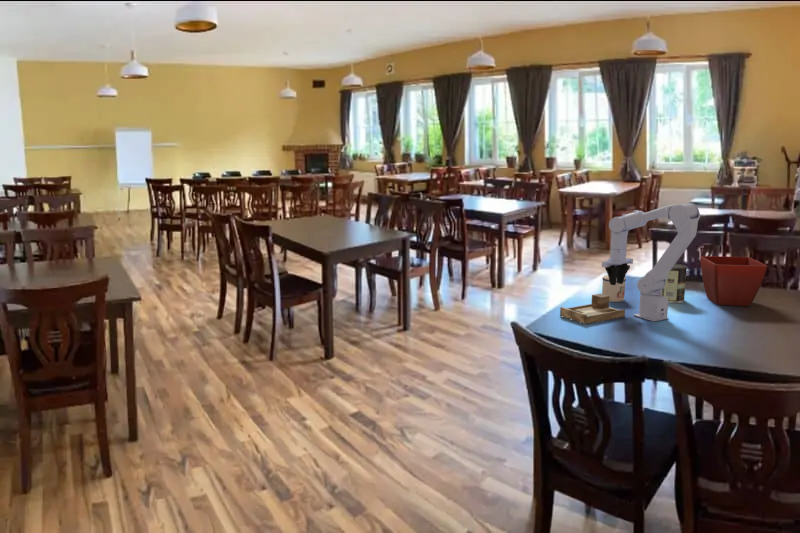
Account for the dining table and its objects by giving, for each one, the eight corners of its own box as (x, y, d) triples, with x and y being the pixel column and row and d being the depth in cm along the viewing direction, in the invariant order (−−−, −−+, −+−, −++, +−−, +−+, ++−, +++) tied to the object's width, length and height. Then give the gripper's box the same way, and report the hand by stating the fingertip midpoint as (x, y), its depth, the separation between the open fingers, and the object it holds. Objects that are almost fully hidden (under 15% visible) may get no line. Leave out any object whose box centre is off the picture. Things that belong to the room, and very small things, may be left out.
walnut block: (609, 307, 261) (609, 295, 260) (600, 309, 258) (601, 297, 257) (599, 305, 264) (600, 293, 264) (591, 306, 262) (592, 294, 261)
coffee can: (678, 296, 285) (681, 263, 282) (688, 303, 275) (691, 268, 272) (653, 296, 285) (655, 263, 283) (662, 303, 275) (664, 268, 272)
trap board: (624, 316, 256) (625, 307, 255) (584, 324, 246) (585, 315, 245) (599, 309, 266) (599, 300, 265) (560, 316, 256) (560, 307, 255)
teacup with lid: (620, 303, 275) (622, 274, 272) (598, 300, 280) (599, 271, 277) (629, 297, 285) (631, 269, 282) (607, 294, 290) (609, 266, 287)
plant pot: (744, 296, 285) (748, 256, 282) (763, 308, 267) (768, 265, 263) (696, 295, 287) (699, 255, 284) (711, 307, 268) (715, 264, 265)
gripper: (623, 245, 268) (621, 279, 271) (596, 248, 261) (594, 284, 264) (638, 248, 262) (636, 283, 265) (610, 251, 255) (608, 287, 258)
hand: (616, 284), depth 264 cm, fingers open, 3 cm apart
